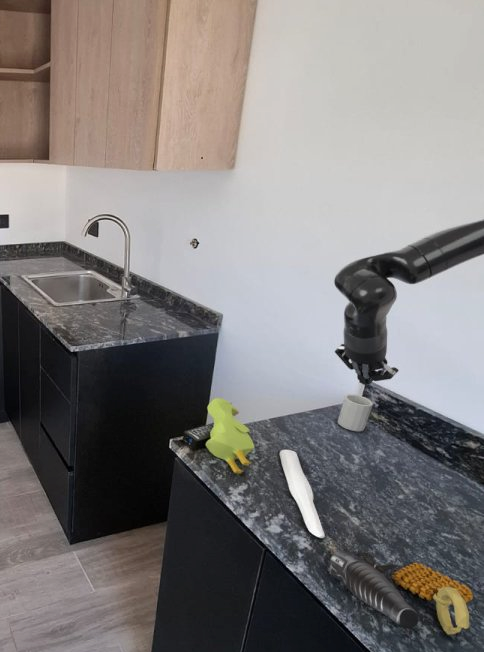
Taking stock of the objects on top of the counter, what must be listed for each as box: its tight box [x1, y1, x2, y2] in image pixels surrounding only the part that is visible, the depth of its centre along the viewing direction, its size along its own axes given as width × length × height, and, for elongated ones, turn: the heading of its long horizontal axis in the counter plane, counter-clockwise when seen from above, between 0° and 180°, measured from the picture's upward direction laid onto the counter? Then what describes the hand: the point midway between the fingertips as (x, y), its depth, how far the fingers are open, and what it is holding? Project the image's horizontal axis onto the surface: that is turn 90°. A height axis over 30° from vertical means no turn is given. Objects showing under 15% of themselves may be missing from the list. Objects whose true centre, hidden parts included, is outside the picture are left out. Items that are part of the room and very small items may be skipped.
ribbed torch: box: [327, 549, 420, 629], centre depth 75 cm, size 9×13×3 cm
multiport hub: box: [182, 422, 214, 450], centre depth 115 cm, size 4×11×2 cm, turn 117°
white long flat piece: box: [279, 449, 326, 539], centre depth 99 cm, size 28×4×2 cm, turn 163°
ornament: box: [391, 562, 474, 635], centre depth 73 cm, size 7×10×15 cm
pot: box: [337, 393, 373, 432], centre depth 123 cm, size 6×6×8 cm
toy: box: [205, 397, 255, 475], centre depth 110 cm, size 6×17×20 cm
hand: (365, 381), depth 111 cm, fingers closed
